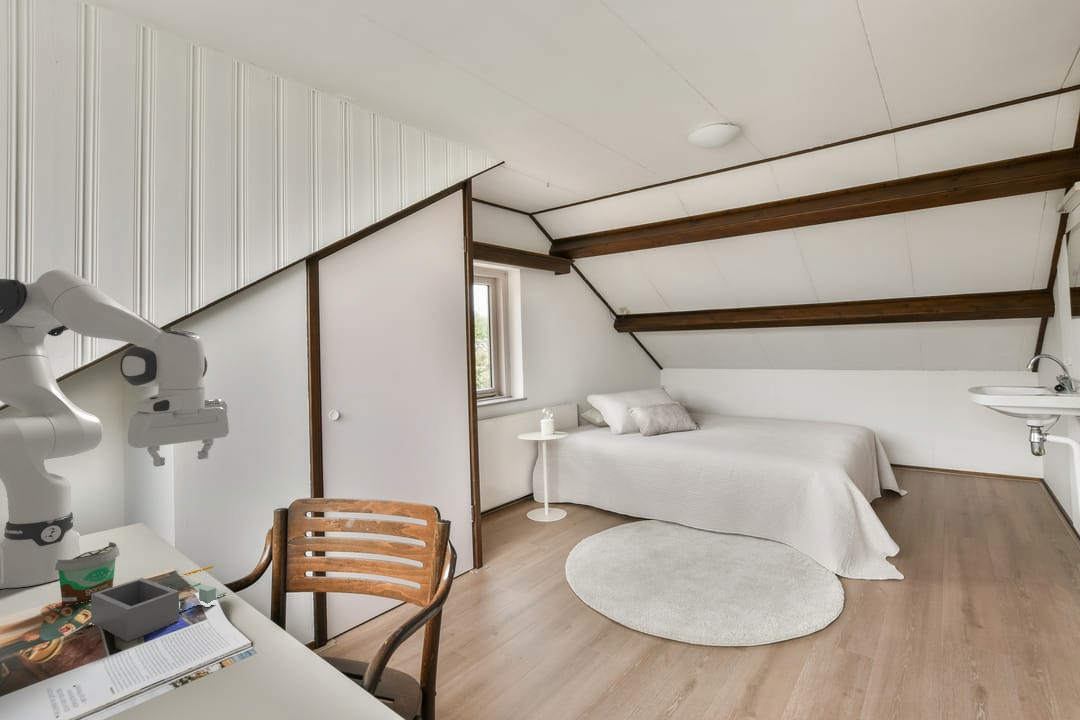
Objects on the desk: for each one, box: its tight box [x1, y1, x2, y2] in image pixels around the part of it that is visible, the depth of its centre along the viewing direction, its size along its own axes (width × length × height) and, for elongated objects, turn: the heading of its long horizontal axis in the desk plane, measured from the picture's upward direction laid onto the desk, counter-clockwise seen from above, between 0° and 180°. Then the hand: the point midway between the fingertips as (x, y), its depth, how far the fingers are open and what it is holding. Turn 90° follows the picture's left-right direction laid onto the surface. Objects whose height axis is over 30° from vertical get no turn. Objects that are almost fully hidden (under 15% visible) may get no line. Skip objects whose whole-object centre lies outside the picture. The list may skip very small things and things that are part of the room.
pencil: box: [180, 565, 214, 576], centre depth 129 cm, size 1×18×1 cm, turn 145°
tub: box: [90, 577, 180, 642], centre depth 108 cm, size 14×9×6 cm, turn 62°
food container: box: [55, 541, 120, 605], centre depth 120 cm, size 12×6×10 cm, turn 168°
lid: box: [179, 579, 227, 610], centre depth 119 cm, size 17×10×4 cm, turn 61°
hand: (181, 462), depth 123 cm, fingers open, 8 cm apart
